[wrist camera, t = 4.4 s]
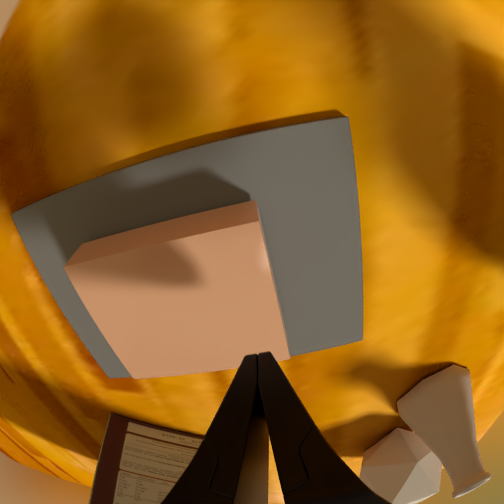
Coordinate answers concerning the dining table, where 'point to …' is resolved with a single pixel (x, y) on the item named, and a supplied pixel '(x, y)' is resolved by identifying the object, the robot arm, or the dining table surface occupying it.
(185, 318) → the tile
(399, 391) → the dining table surface
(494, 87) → the dining table surface
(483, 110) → the dining table surface
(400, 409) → the flask
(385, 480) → the pale grey faceted chunk
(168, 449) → the protein box
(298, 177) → the mat
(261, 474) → the robot arm
